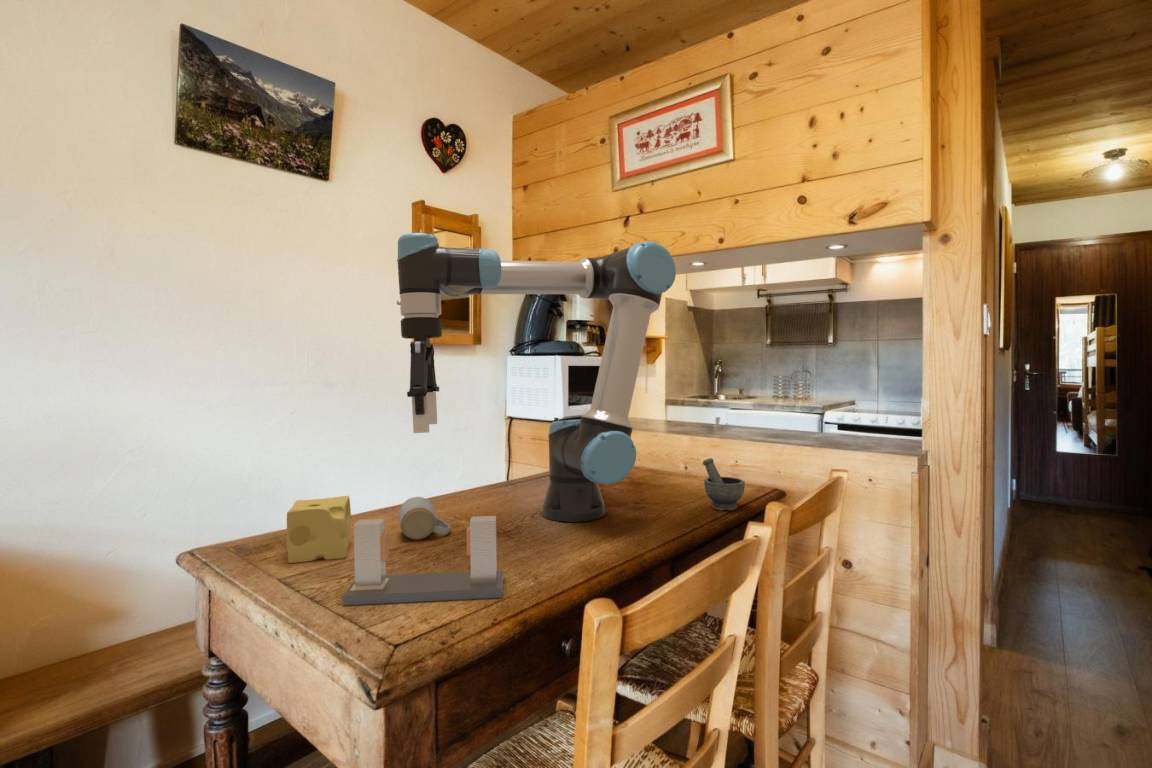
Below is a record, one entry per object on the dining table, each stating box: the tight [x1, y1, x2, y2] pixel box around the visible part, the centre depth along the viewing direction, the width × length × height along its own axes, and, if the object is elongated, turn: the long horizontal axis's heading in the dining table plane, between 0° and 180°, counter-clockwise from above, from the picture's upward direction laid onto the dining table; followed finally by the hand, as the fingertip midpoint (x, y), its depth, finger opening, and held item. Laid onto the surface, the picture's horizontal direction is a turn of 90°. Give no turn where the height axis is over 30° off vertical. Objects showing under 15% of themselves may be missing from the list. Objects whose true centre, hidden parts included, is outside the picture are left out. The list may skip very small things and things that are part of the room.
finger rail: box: [342, 515, 504, 607], centre depth 91 cm, size 24×8×12 cm, turn 96°
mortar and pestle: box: [702, 458, 746, 511], centre depth 144 cm, size 11×9×12 cm
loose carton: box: [353, 518, 390, 588], centre depth 90 cm, size 5×3×10 cm, turn 95°
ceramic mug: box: [398, 496, 451, 541], centre depth 122 cm, size 11×8×8 cm
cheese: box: [286, 495, 352, 564], centre depth 111 cm, size 10×11×10 cm
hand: (426, 428), depth 109 cm, fingers open, 13 cm apart
